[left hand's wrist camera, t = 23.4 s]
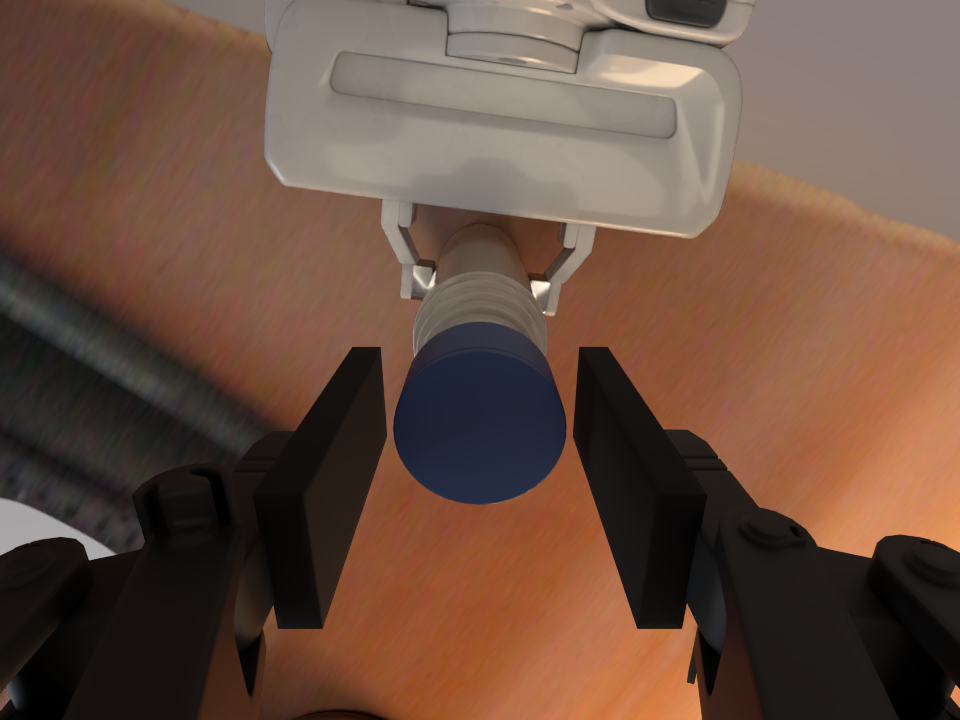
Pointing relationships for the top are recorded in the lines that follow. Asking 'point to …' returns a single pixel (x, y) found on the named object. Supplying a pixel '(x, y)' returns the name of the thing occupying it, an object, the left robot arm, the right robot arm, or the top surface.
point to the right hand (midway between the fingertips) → (478, 305)
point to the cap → (479, 415)
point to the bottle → (480, 288)
